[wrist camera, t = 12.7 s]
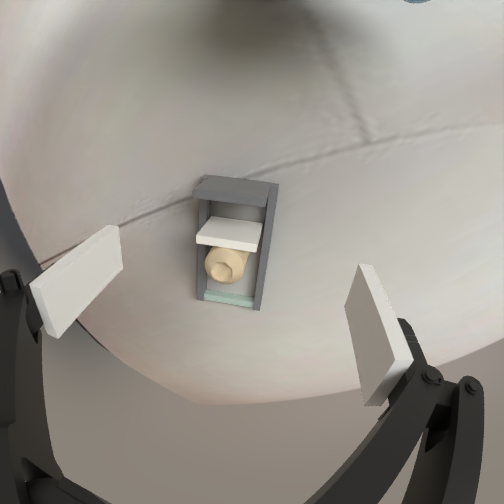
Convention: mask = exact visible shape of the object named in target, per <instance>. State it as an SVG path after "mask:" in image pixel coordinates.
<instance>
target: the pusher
mask: <svg viewBox="0 0 504 504" xmlns="http://www.w3.org/2000/svg"><path fill="white" fill-rule="evenodd" d="M262 226H263V223H258V222H251V221H244V220H237V219H230V218H223V217H216V216H211V217H210V219H209V220H208V221H207V222H206V223H205V225H204V226H203V227H202V228H201V230H200V231H199V232H198V233H197V235H196V243H198V244H205V245H211V246H218V247H224V248H230V249H237V250H243V251H249V252H256V251H257V247H258V243H259V239H260V236H261V232H262Z"/></svg>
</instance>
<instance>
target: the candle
mask: <svg viewBox="0 0 504 504" xmlns="http://www.w3.org/2000/svg"><path fill="white" fill-rule="evenodd" d="M249 253H250V252H249V251H243V250H237V249H230V248H224V247H218V246H213V247H212V248H211V250H210V252H209V253H208V255H207V257H206V259H205V269H206V272H207V274H208V275H209V276H210V277H211V278H212V279H213V280H215V281H216V282H219V283H222V284H231V283H234V282H236V281H238V280H239V279H240V278H241V277H242V275H243V272H244V269H245V266H246V263H247V259H248V256H249Z"/></svg>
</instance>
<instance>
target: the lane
mask: <svg viewBox="0 0 504 504" xmlns="http://www.w3.org/2000/svg"><path fill="white" fill-rule="evenodd" d="M278 187H279V184H275V183H268V182H261V181H254V180H246V179H239V178H230V177H222V176H212V175H203V176H202V177H201V182H200V184H199V185H198V186H196V187H195V188H194V189H193V198H197V199H200V200H199V222H198V232H199V231H200V230H201V228H202V227H203V226H204V225H205V223H206V222H207V221H208V220H209V216H210V200H214V201H221V202H229V203H236V204H244V205H251V206H258V207H265V206H266V202H267V199H268V205H267V212H266V219H265V227H264V234H263V241H262V248H261V256H260V263H259V270H258V277H257V284H256V291H255V298H253V297H247V296H241V295H236V294H230V293H224V292H218V291H213V290H207V289H206V285H207V272H206V269H205V259H206V257H207V255H208V245H205V244H198V255H197V300H202V301H203V300H204V299H206V300H211V301H216V302H222V303H227V304H233V305H239V306H245V307H251V308H253V310H258V311H260V305H261V299H262V293H263V286H264V280H265V274H266V267H267V261H268V255H269V248H270V241H271V235H272V228H273V222H274V215H275V208H276V201H277V194H278ZM268 195H269V197H268Z"/></svg>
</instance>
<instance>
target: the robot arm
mask: <svg viewBox="0 0 504 504" xmlns="http://www.w3.org/2000/svg"><path fill="white" fill-rule="evenodd" d="M404 1H406V2H409V3H424V2H427V1H430V0H404ZM122 269H123V264H122V255H121V246H120V236H119V226H113V225H107V226H106V227H104V228H103V229H101V230H100V231H98V232H97V233H95V234H94V235H93V236H91V237H90V238H88V239H87V240H85V241H84V242H83V243H81V244H80V245H79V246H77V247H76V248H74V249H73V250H72V251H70V252H69V253H68V254H66V255H65V256H64V257H62V258H61V259H60V260H58V261H57V262H55V263H53V264H52V265H50V266H49V267H48V268H46V270H44V271H43V272H41V274H39V275H38V276H36V277H35V278H34V279H33V280H32V281H30V282H29V283H28V284H27V285H26V286H24V285H23V282H22V279H21V275H20V272H19V271H18V270H16V269H10V270H7V271H5V272H3V273H1V274H0V290H1V293H0V504H111V503H109V502H107V501H105V500H104V499H102V498H100V497H98V496H97V495H95V494H93V493H92V492H90V491H88V490H86V489H84V488H83V487H81V486H79V485H77V484H76V483H74V482H72V481H70V480H69V479H67V478H65V477H64V475H63V473H62V471H61V469H60V467H59V466H58V464H57V463H56V461H55V458H54V455H53V451H52V447H51V441H50V435H49V430H48V424H47V417H46V409H45V400H44V390H43V376H42V333H41V330H40V327H41V326H42V325H43V324H44V326H45V329H46V331H47V333H48V334H49V335H51V336H53V337H56V338H58V339H59V338H60V336H61V335H62V334H63V333H64V332H65V330H66V329H67V328H68V327H69V326H70V325H71V324H72V323H73V321H74V320H75V319H76V318H77V317H78V316H79V315H80V314H81V312H82V311H83V310H84V309H85V308H86V307H87V306H88V305H89V304H90V303H91V302H92V300H93V299H94V298H95V297H96V296H97V295H98V294H99V293H100V292H101V291H102V290H103V289H104V288H105V287H106V286H107V285H108V284H109V282H110V281H111V280H112V279H113V278H114V277H115V276H116V275H117V274H118V273H119V272H120V271H121V270H122ZM344 307H345V311H346V316H347V320H348V324H349V329H350V333H351V338H352V343H353V348H354V352H355V357H356V363H357V368H358V373H359V379H360V384H361V390H362V396H363V402H364V406H381V405H382V404H383V403H384V401H385V400H386V399H387V398H388V400H389V407H388V408H387V409H386V410H385V411H384V413H383V414H382V415H381V416H380V417H379V419H378V422H377V423H376V425H375V426H374V427H373V428H372V430H371V431H370V432H369V434H368V435H367V436H366V438H365V439H364V440H363V441H362V443H361V444H360V445H359V446H358V448H357V449H356V450H355V451H354V452H353V454H352V455H351V456H350V457H349V458H348V459H347V460H346V462H345V463H344V464H343V465H342V466H341V467H340V468H339V469H338V470H337V472H336V473H335V474H334V475H333V476H332V477H331V478H330V479H329V480H328V481H327V482H326V483H325V484H324V485H323V486H322V487H321V488H320V489H319V490H318V491H317V492H316V493H315V494H314V495H313V496H312V497H311V498H309V499H308V500H307V501H306V502H305V503H304V504H378V502H379V501H380V500H381V498H382V497H383V496H384V494H385V493H386V492H387V490H388V489H389V487H390V486H391V484H392V483H393V481H394V480H395V479H396V477H397V476H398V474H399V472H400V471H401V469H402V468H403V466H404V464H405V463H406V461H407V459H408V458H409V456H410V454H411V453H412V451H413V449H414V447H415V446H416V444H417V442H418V440H419V438H420V436H421V434H422V432H423V435H422V439H421V443H420V448H419V451H418V455H417V459H416V462H415V466H414V469H413V472H412V476H411V479H410V482H409V484H408V487H407V491H406V493H405V496H404V499H403V501H402V504H474V503H475V498H476V493H477V488H478V483H479V476H480V469H481V461H482V451H483V437H484V391H483V387H482V385H481V384H480V382H479V381H478V380H477V379H475V378H474V377H471V376H464V377H463V378H462V379H461V380H460V381H459V383H458V384H456V383H452V382H449V381H445V380H444V379H443V376H442V374H441V373H440V371H439V370H437V369H436V368H435V367H433V366H430V365H428V364H427V361H426V359H425V357H424V354H423V352H422V349H421V347H420V345H419V343H418V340H417V338H416V336H415V334H414V331H413V329H412V327H411V326H410V325H409V323H408V322H407V321H406V320H405V319H401V318H396V315H395V313H394V311H393V308H392V306H391V304H390V302H389V300H388V298H387V295H386V293H385V291H384V289H383V287H382V285H381V283H380V281H379V279H378V277H377V275H376V273H375V271H374V269H373V267H372V266H371V265H365V264H358V268H357V271H356V274H355V277H354V280H353V283H352V286H351V289H350V292H349V295H348V298H347V301H346V303H345V306H344ZM25 481H26V482H25Z"/></svg>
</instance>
